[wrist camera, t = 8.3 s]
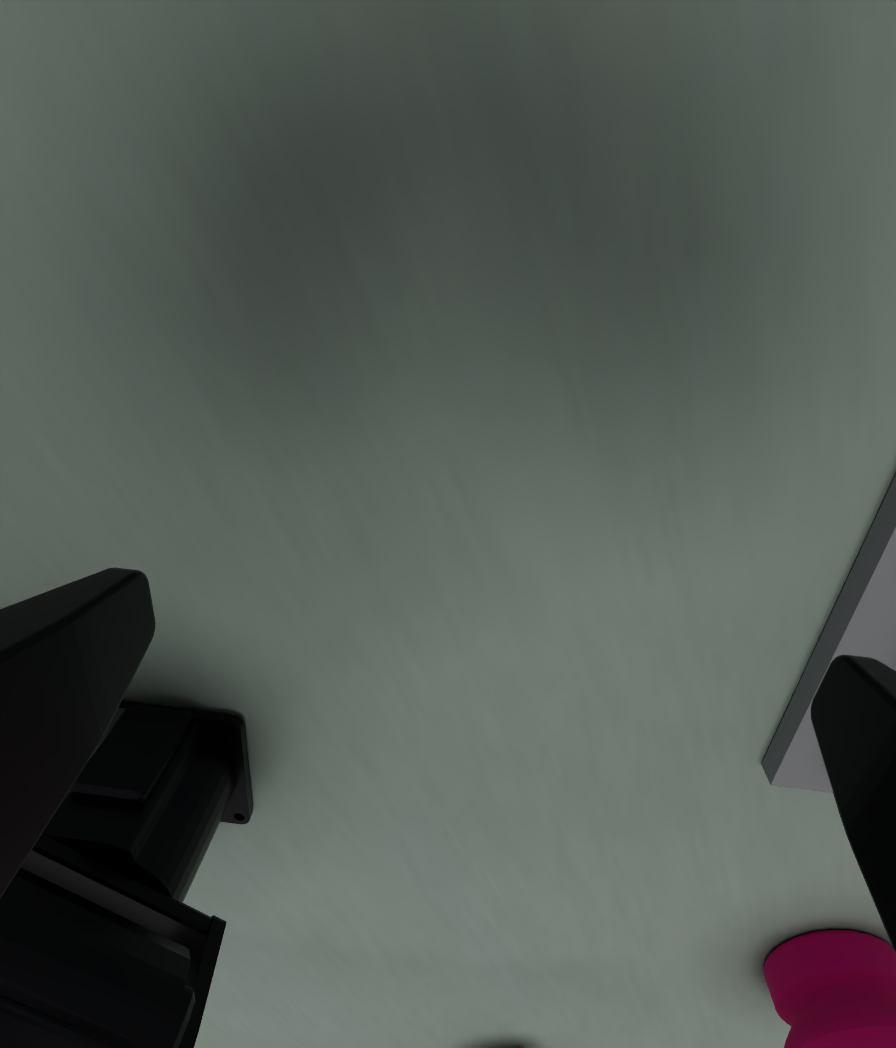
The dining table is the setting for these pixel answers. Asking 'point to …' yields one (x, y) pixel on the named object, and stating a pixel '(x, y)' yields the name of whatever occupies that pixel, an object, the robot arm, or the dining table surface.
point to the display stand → (841, 651)
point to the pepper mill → (835, 990)
